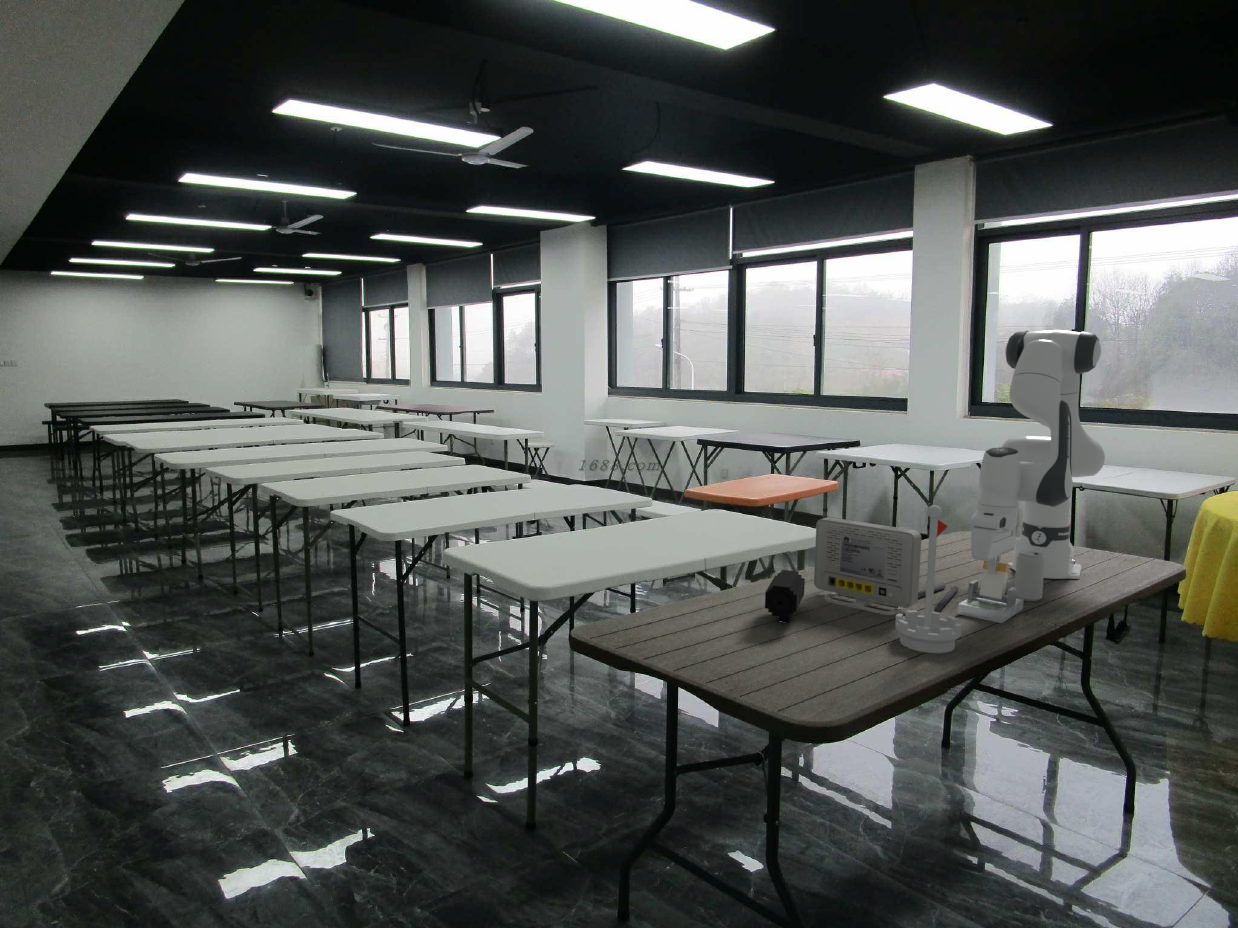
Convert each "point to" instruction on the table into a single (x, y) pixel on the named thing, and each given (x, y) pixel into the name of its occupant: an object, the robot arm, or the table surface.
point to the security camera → (784, 594)
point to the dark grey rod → (946, 599)
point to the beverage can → (1029, 575)
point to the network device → (867, 563)
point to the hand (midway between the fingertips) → (992, 573)
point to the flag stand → (929, 607)
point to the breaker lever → (994, 584)
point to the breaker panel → (990, 605)
